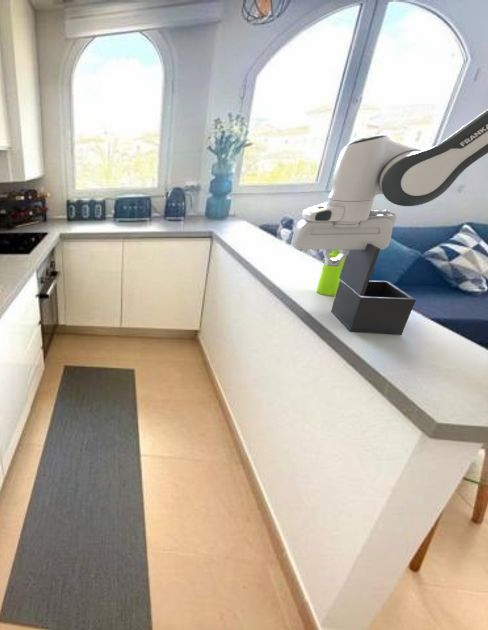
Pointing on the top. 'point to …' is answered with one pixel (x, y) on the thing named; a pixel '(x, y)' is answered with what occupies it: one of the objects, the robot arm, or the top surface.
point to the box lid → (359, 268)
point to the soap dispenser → (330, 277)
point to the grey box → (373, 308)
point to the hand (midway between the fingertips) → (331, 265)
